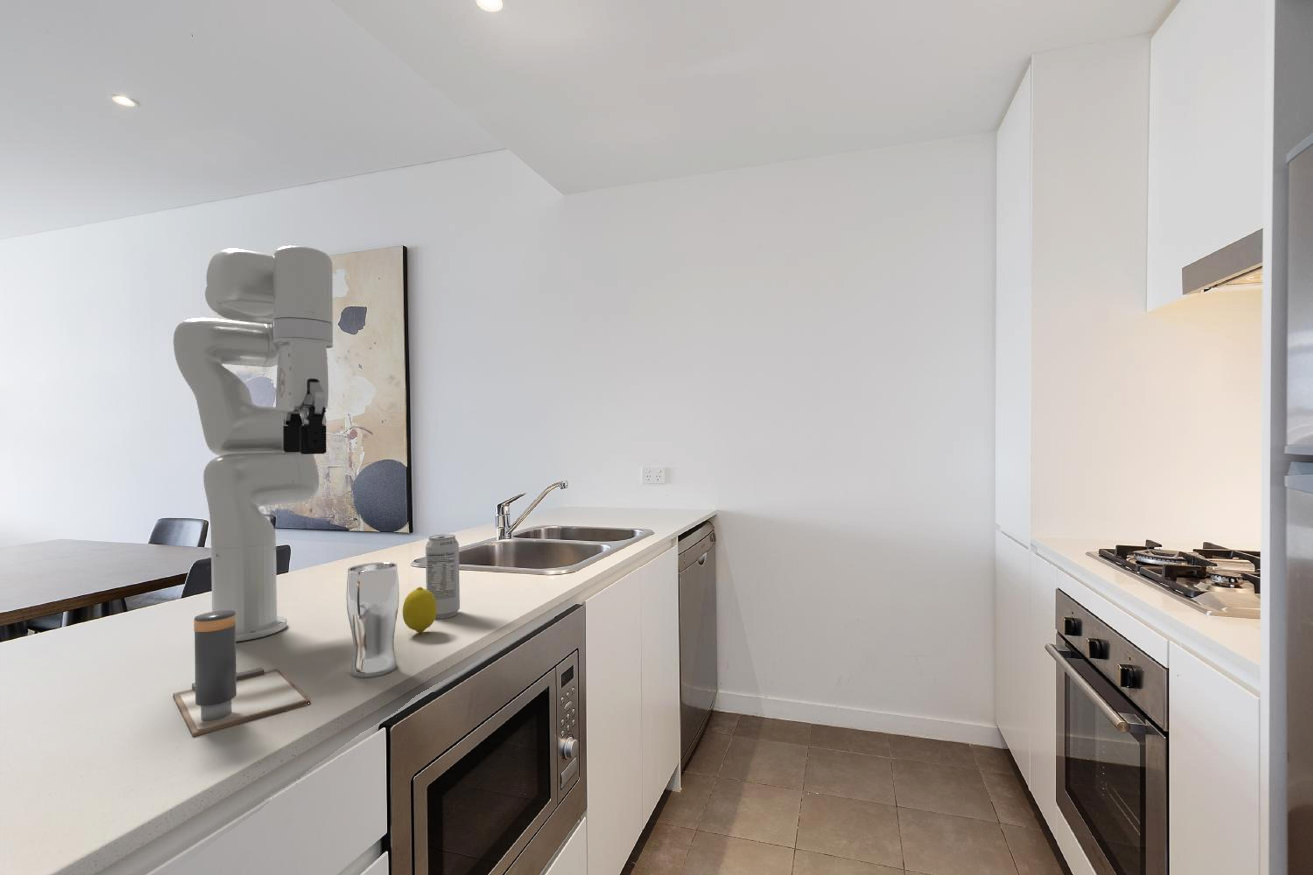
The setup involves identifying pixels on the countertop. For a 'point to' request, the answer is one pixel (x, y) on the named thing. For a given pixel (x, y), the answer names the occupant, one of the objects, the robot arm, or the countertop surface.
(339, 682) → the countertop surface
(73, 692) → the countertop surface
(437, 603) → the energy drink can
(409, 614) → the lemon
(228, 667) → the grey rounded cylinder
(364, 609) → the beer glass
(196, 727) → the clipboard
